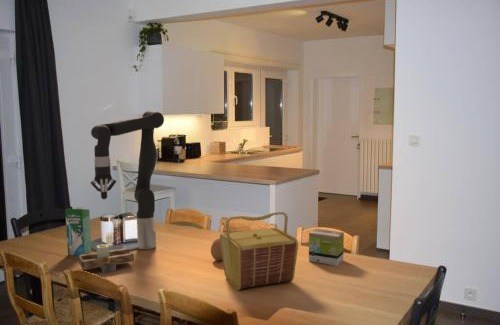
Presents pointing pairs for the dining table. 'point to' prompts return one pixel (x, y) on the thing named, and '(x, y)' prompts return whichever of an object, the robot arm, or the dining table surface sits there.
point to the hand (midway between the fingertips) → (104, 199)
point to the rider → (102, 251)
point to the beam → (106, 260)
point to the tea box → (326, 246)
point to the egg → (216, 250)
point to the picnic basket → (258, 254)
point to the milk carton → (78, 231)
